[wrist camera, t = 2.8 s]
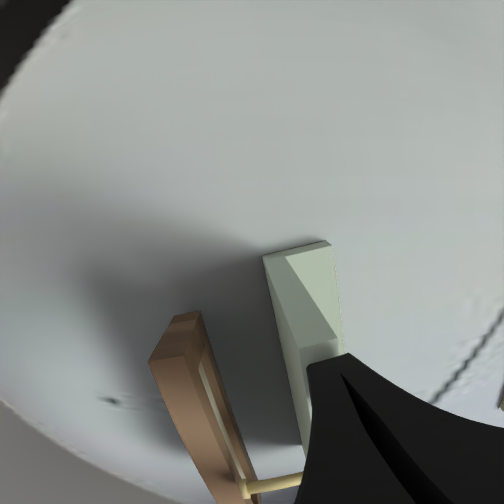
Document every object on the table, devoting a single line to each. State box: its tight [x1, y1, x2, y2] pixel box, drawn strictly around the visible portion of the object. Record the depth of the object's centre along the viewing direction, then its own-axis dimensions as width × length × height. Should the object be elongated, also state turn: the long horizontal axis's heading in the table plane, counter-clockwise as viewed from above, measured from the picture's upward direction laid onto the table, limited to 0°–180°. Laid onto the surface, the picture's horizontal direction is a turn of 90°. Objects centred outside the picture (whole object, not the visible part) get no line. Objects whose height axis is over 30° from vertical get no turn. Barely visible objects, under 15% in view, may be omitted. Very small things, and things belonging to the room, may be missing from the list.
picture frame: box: [148, 311, 261, 504], centre depth 16 cm, size 16×2×6 cm, turn 13°
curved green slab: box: [239, 241, 345, 499], centre depth 16 cm, size 18×8×10 cm, turn 12°
